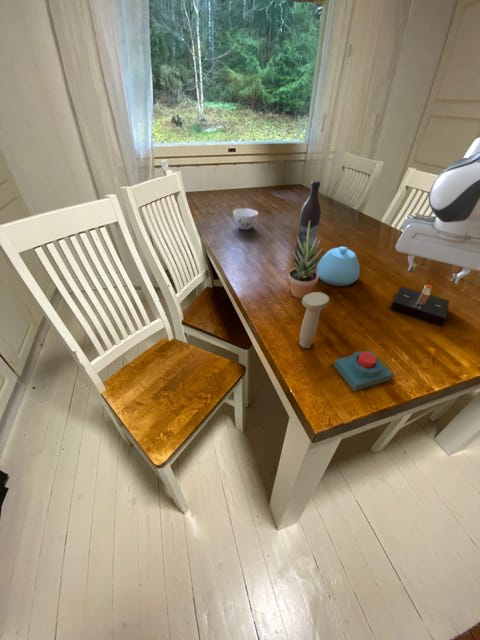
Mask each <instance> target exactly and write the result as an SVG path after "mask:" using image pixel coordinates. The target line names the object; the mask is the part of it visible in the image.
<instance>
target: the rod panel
mask: <svg viewBox="0 0 480 640" xmlns="http://www.w3.org/2000/svg"><path fill="white" fill-rule="evenodd" d="M421 293H422V291H419V290H415V289H411V288H407V287H404V286H400V287H399V289H398V291H397V294H396V295H395V297H394V300H393V302H392V305H391V307H390V311H394V312H397V313H400V314H402V315H405V316H409V317H412V318H414V319H418V320H421V321H424V322H427V323H430V324H433V325H436V326H439V327H442V326H443V324H444V323H445V321H446V319H447V315H448V311H449V310H448V309H449V305H450V304H449V303H450V299H449V300H448V299H446V298H442V297H439V296H436V295H432V294H430V295H429V297H428V299H427V301H426V303H425V305H424V306H420V305H417V303H418V300H419V297H420V295H421Z"/></svg>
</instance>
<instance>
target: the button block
mask: <svg viewBox="0 0 480 640" xmlns="http://www.w3.org/2000/svg"><path fill="white" fill-rule="evenodd" d="M362 352H363V351H362V350H359V351H356V352H353V354H352V355H349V356H345V357H341V358H337V359H335V361H334V364H333V367H334V368H335V369H336V371H337V372H338V373H339V374H340V376H341V377H342V378H343V379H344V381H346V383H347V384H348V385H349V386H350V388H351V390H353V392H356V391H360V390H363V389H367V388H369V387H373V386H377V385H379V384H383V383H385V382H389V381H391V380H392V377H393V376H394V373H393V372H392V371H391V370H390V369H389V368H388V367H387V366H386V365H385V364H384V363H383V362H382V361H381V360H380V359H379V358H378V357H377V356H376V355H375V354H374V353H373V352H372V351H371V350H367V351H366V352H368V353H371V354H373V355H374V356H375V357H376V362H375V365H374V367H372V368H364V367H362V366H360V365H359V363H358V358H359V355H360V354H361V353H362Z"/></svg>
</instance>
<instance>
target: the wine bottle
mask: <svg viewBox="0 0 480 640" xmlns="http://www.w3.org/2000/svg"><path fill="white" fill-rule="evenodd" d="M310 184H311V185H310V193H309V196H308V198H307V199H306V201H305V202H304V204H303V205H302V208H301V210H300V214H299V222H298V229H297V236H298V237H299V240H300V242H301V244H302V246H303V248H304V242H305V241H306V244H307V231H308V224H309V221H310V239H311V243H310V249H311V247H312V245H313V244H314V241H315V240H316V238H317V236H318V231H319V227H320V226H319V225H320V222H321V221H320V220H321V213H322V208H321V204H320V201H319V188H320V187H321V181H319V180H312V181H311V182H310ZM297 236H296V237H297ZM295 242H296V243H295V249H294V252H295V254H296V256H297V258H298V259H299V257H298V254H297V249H298V250H299V252H300V254H301V255H302V256H303V254H302V252H301V249H300V246H299V243H298V239H297V238H296V241H295ZM299 261H300V259H299ZM294 262H295V263H296V264H297V265H298V266H299V267H300V265H299V263H298V261H297V260H296V258H295V256H294V255H293V264H294V265H295V263H294ZM300 262H301V261H300Z"/></svg>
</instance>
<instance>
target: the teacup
mask: <svg viewBox="0 0 480 640" xmlns="http://www.w3.org/2000/svg"><path fill="white" fill-rule="evenodd" d="M232 216H233V221H234V222H235V224H236V226H237V227H238V228H239V229H241V230H251V228H252V227H253V226H254V225H255V224H256V222H257V220H258V217H259V212H258V210H256V209H252V208H241V207H240V208H235V209H234V210H233V211H232Z"/></svg>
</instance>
